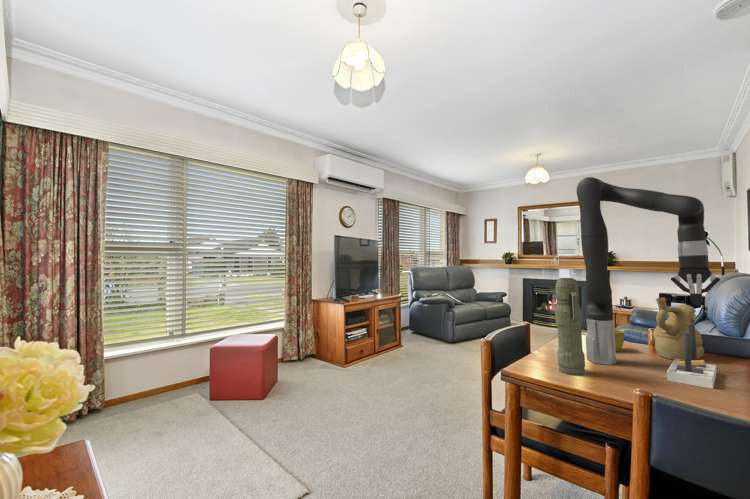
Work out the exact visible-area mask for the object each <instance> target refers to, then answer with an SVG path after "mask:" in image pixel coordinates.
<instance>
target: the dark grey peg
mask: <svg viewBox="0 0 750 499" xmlns="http://www.w3.org/2000/svg"><path fill="white" fill-rule="evenodd" d="M683 345H684V359H685V371H687V372H692V365H691V352H690V338H689V333H687V332H684V333H683Z"/></svg>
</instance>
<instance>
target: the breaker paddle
mask: <svg viewBox="0 0 750 499" xmlns="http://www.w3.org/2000/svg"><path fill="white" fill-rule="evenodd" d="M705 362H706V361H705V360H704V359H698V360H692V361H691V365H692V367H693V365H705ZM677 364H678V365H684V366H685V361H678V362H677Z"/></svg>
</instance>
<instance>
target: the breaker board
mask: <svg viewBox="0 0 750 499" xmlns="http://www.w3.org/2000/svg"><path fill="white" fill-rule="evenodd" d="M678 361H685V359H675V360H673V361H672V363H671V364H670V366H669V367H668V368H667V370H666V381H668V382H673V383H680V384H685V385H690V386H691V385H692V386H695V387H696V386H697V387H702V388H708V389H711V390H712V389H714V386H715V382H716V378H717V375H716V374H718V373H717V364H716V365H715V364H710V363H706V361H704V362H705V365H693V367H692V372H687V371H685V366H684V365H678V364H677V362H678ZM691 361H692V360H691Z"/></svg>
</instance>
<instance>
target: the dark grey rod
mask: <svg viewBox="0 0 750 499" xmlns="http://www.w3.org/2000/svg"><path fill="white" fill-rule="evenodd" d="M695 328H696V326H695V325H694V324H693V325H689V337H690V350H691V360H697V351H696V337H695Z"/></svg>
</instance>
